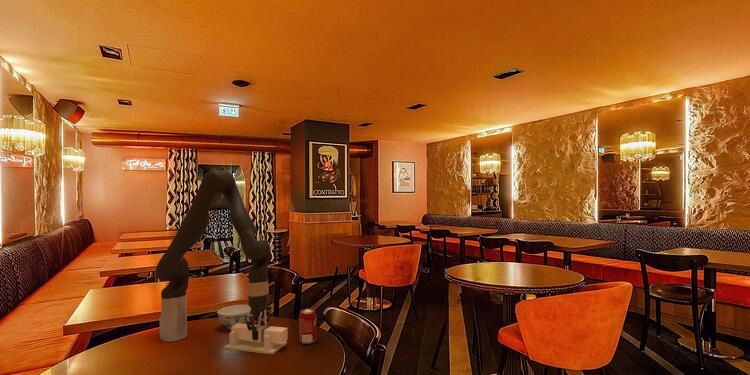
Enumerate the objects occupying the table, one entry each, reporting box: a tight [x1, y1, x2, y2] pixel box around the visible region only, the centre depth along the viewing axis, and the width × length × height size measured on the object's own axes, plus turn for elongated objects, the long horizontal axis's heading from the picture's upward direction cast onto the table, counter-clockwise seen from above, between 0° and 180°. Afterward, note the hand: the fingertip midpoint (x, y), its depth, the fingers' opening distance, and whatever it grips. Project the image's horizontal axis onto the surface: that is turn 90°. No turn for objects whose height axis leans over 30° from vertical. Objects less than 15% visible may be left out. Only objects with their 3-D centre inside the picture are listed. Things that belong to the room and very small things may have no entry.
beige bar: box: [230, 323, 289, 344], centre depth 144 cm, size 22×4×4 cm, turn 73°
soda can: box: [298, 308, 318, 345], centre depth 148 cm, size 7×7×12 cm
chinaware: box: [216, 304, 251, 331], centre depth 167 cm, size 15×15×8 cm
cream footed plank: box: [224, 331, 288, 355], centre depth 145 cm, size 21×10×6 cm, turn 73°
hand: (259, 337), depth 144 cm, fingers closed on beige bar, 4 cm apart
